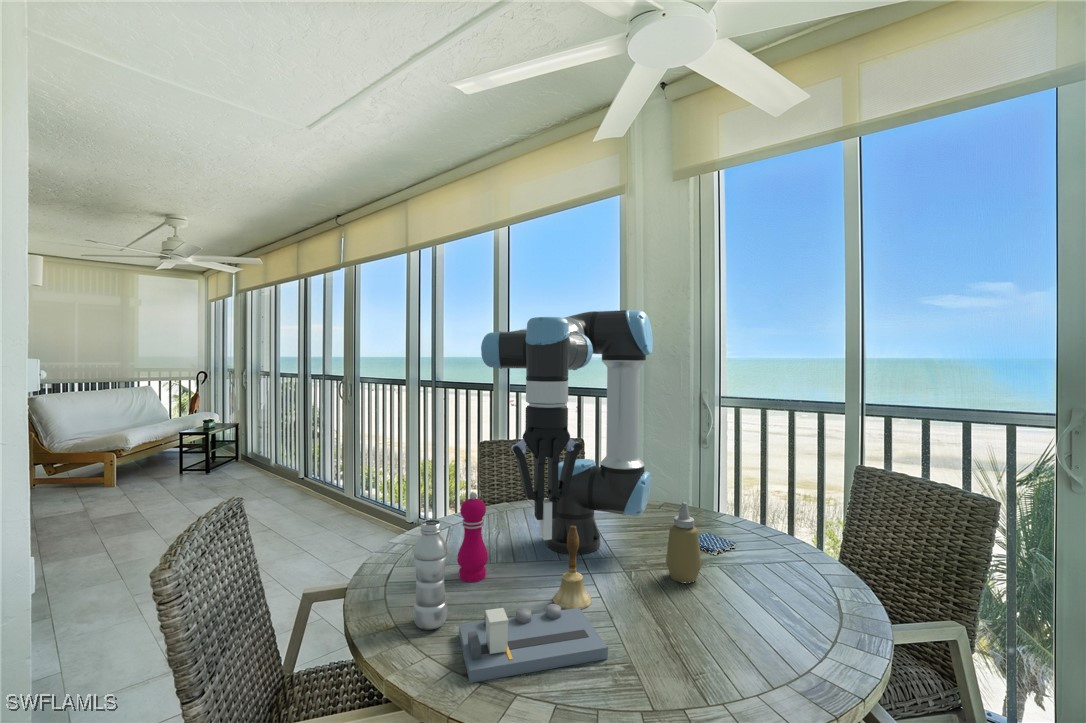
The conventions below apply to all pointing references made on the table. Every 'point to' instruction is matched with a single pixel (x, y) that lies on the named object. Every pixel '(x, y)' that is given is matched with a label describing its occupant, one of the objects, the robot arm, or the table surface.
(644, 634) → the table surface
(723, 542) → the woven mat
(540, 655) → the console board
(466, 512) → the pepper mill
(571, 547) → the hand bell
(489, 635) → the fader tab
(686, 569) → the squeeze bottle
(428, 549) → the plastic bottle
